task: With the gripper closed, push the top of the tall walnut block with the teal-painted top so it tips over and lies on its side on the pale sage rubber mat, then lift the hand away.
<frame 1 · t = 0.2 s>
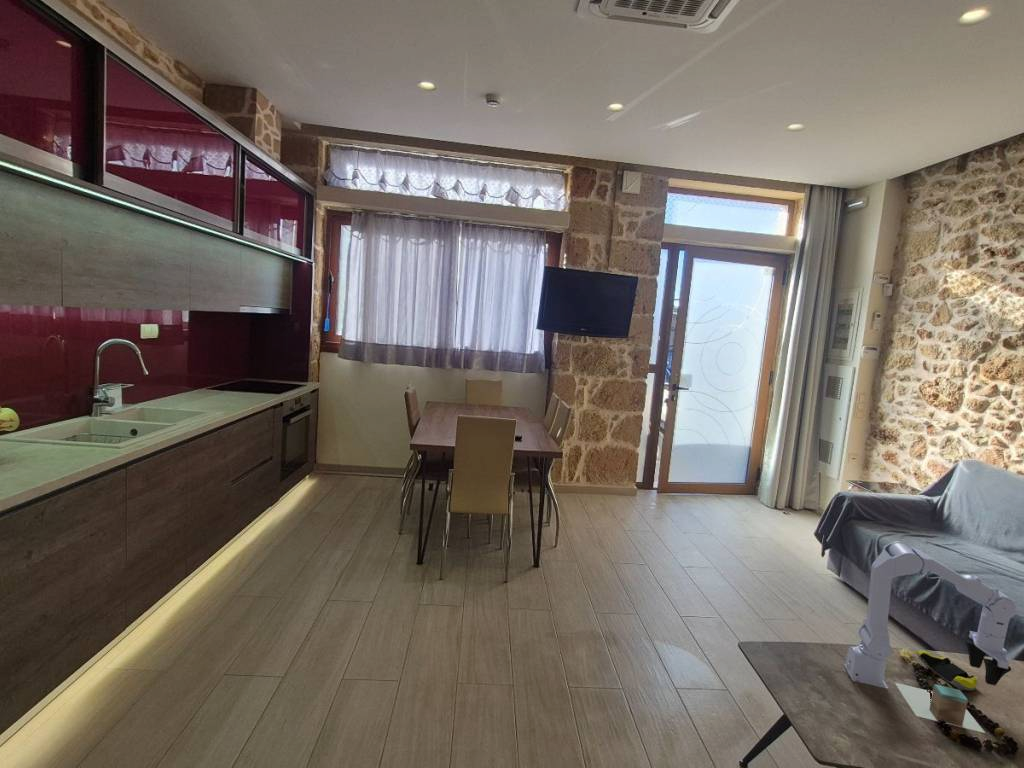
hand: (982, 675, 146), 10 cm above the table, tool pointing down, fingers open, 7 cm apart
walnut block: (945, 717, 141), point 1 cm above the table, touching sage mat
sage mat: (936, 708, 146), on the table
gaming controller: (947, 679, 159), on the table
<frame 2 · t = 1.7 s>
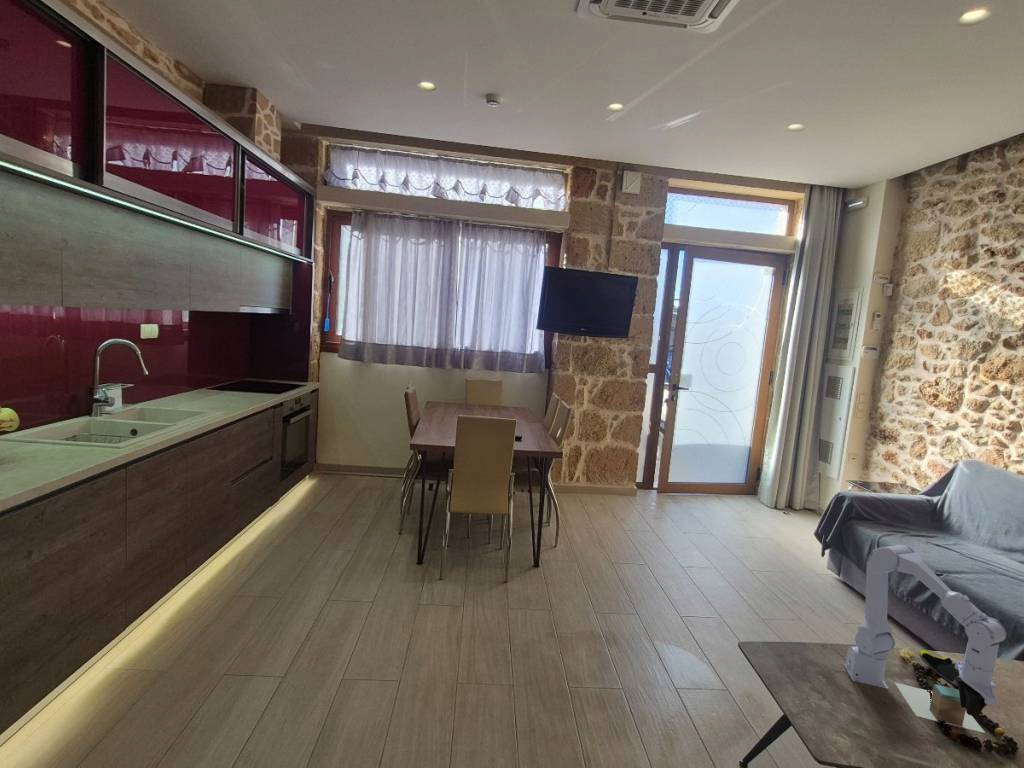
hand: (968, 711, 132), 9 cm above the table, tool pointing down, fingers closed
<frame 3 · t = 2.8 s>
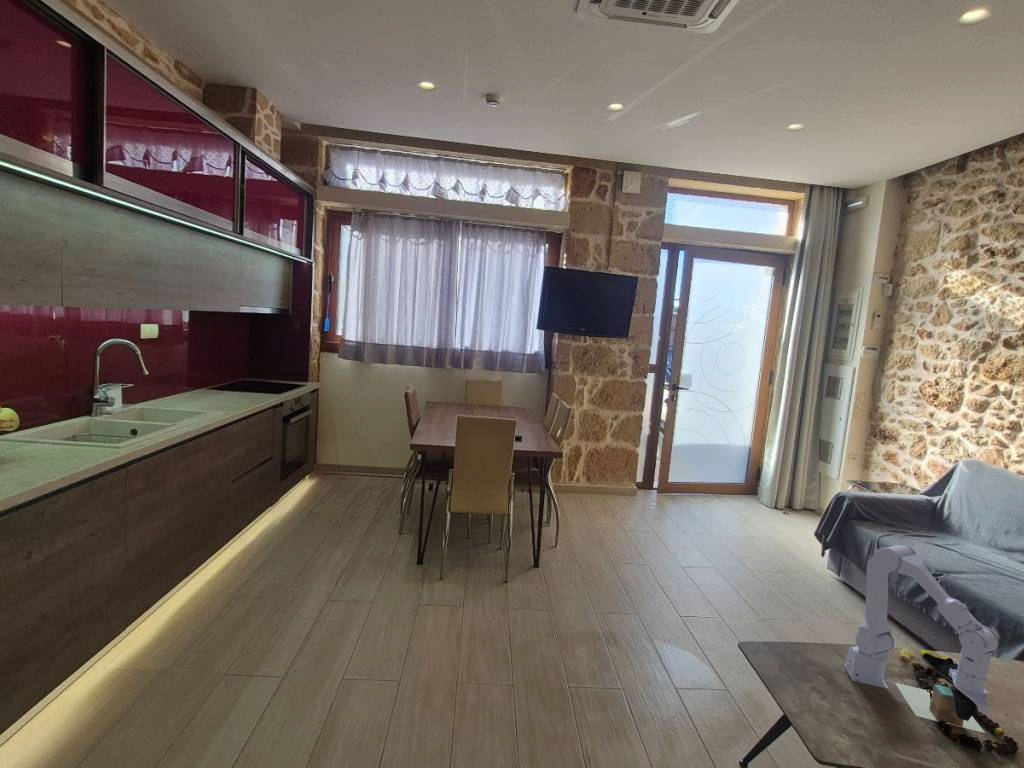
hand: (962, 718, 134), 6 cm above the table, tool pointing down, fingers closed
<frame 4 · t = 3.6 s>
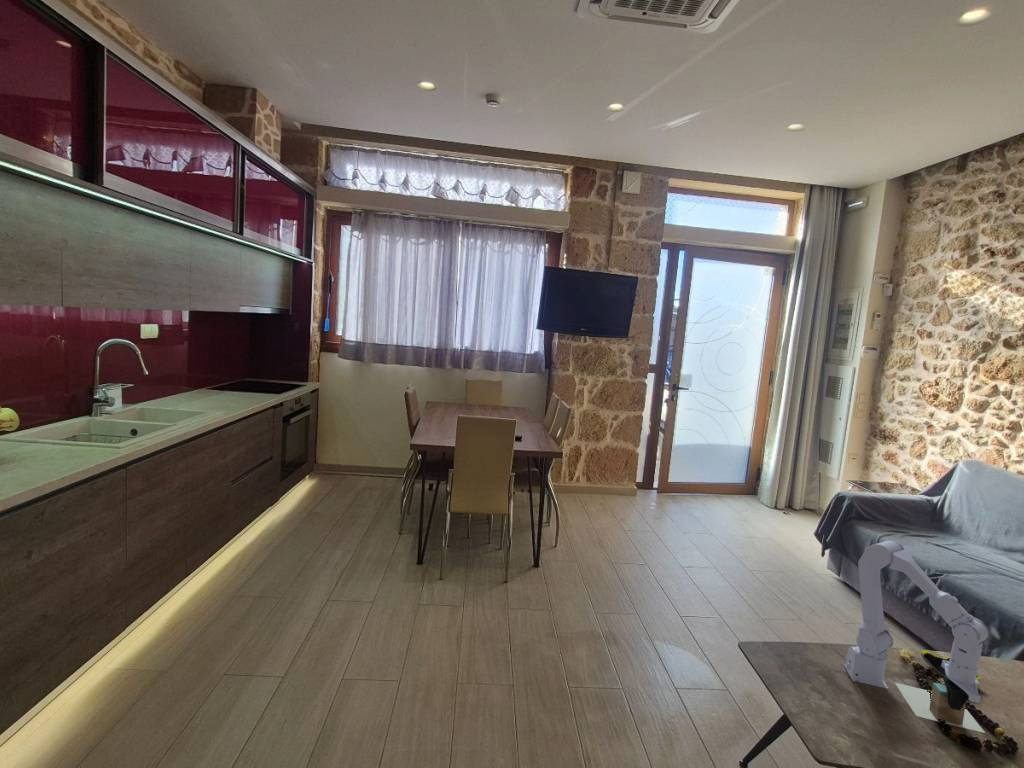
hand: (954, 707, 138), 6 cm above the table, tool pointing down, fingers closed
walnut block: (945, 717, 141), point 1 cm above the table, tilted 5°, touching gripper, sage mat
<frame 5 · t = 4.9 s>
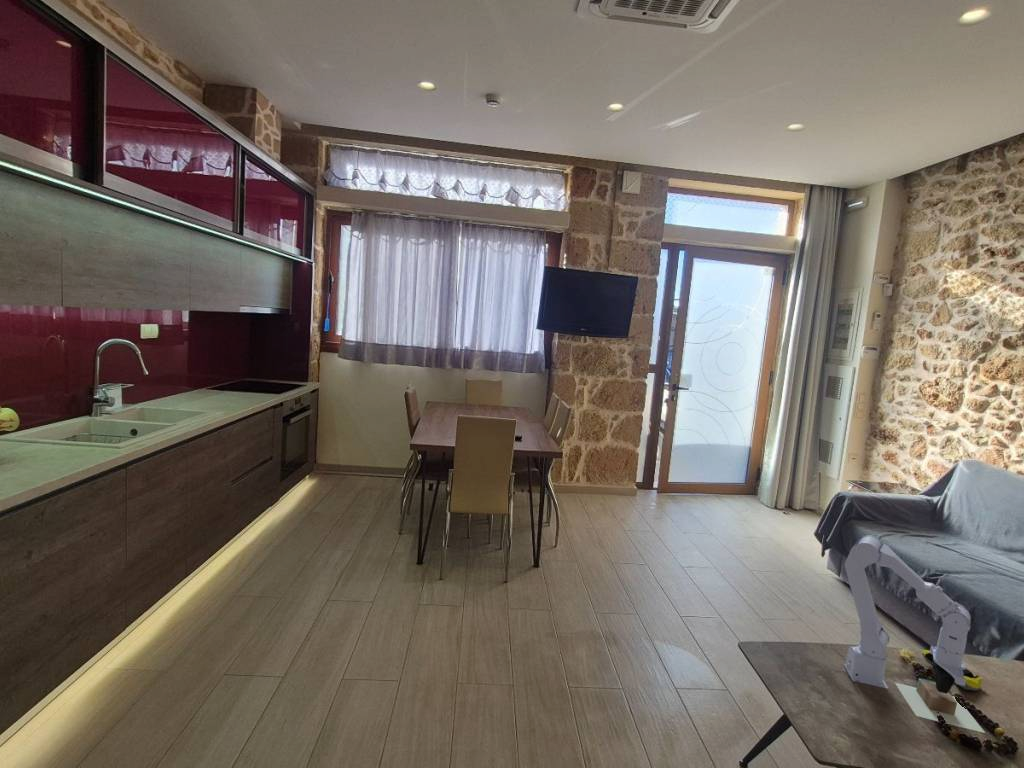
hand: (941, 691, 144), 6 cm above the table, tool pointing down, fingers closed
walnut block: (943, 706, 143), point 3 cm above the table, tilted 90°, touching sage mat
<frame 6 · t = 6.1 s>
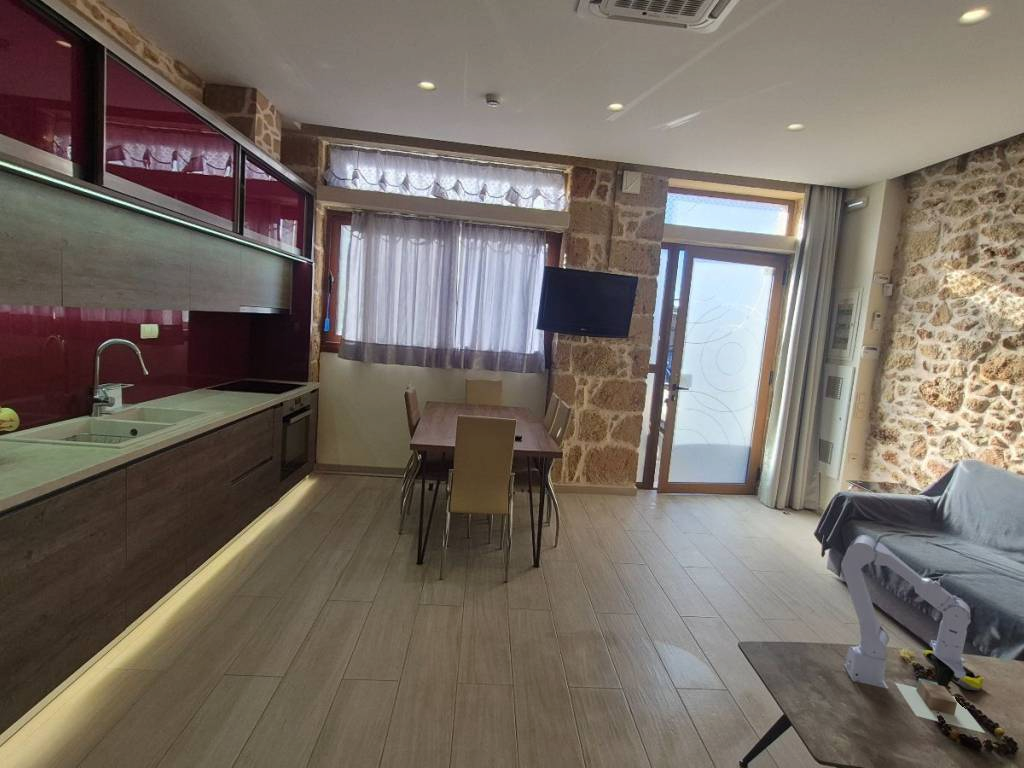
hand: (941, 684, 145), 7 cm above the table, tool pointing down, fingers closed
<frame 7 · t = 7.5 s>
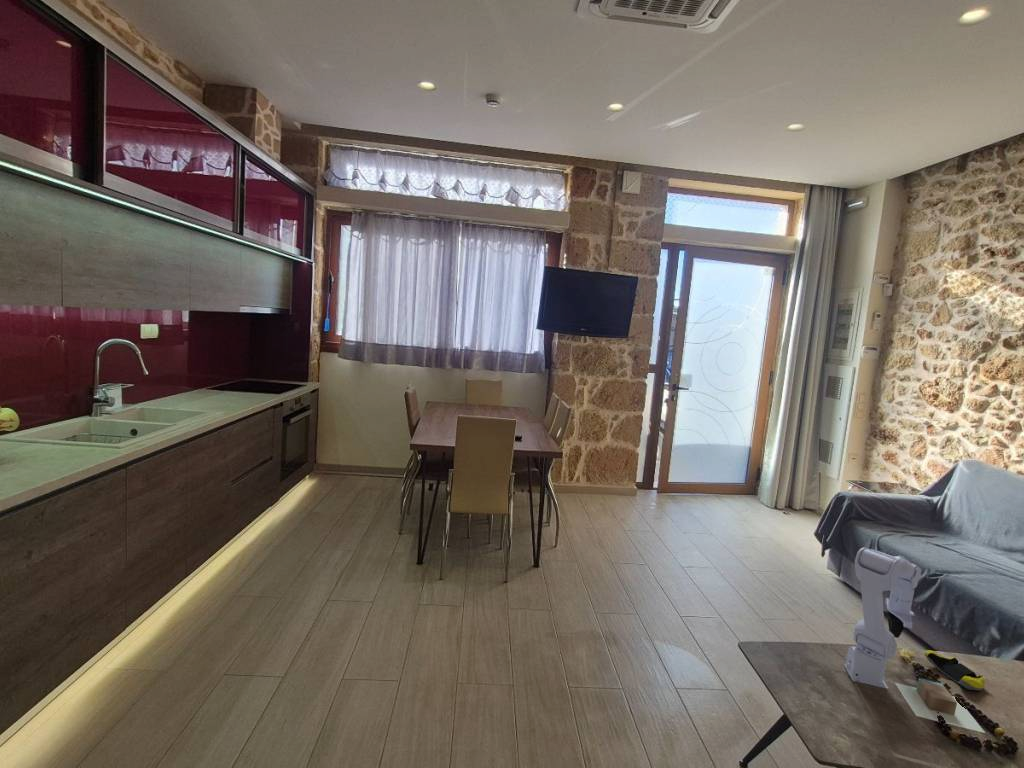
hand: (893, 636, 164), 9 cm above the table, tool pointing down, fingers closed
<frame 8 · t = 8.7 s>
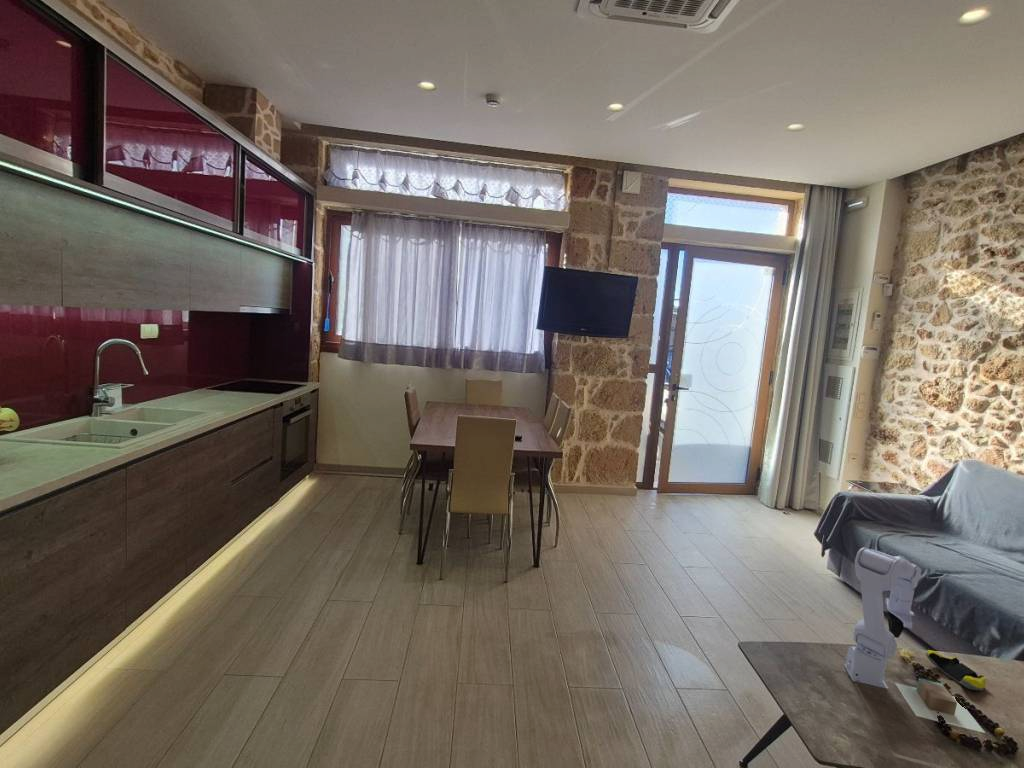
hand: (893, 636, 164), 9 cm above the table, tool pointing down, fingers closed
at the end: walnut block tilted 90°; walnut block inside the target area on the sage mat (1.8 cm from its centre), point 2.6 cm above the sage mat's base; walnut block touching sage mat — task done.
